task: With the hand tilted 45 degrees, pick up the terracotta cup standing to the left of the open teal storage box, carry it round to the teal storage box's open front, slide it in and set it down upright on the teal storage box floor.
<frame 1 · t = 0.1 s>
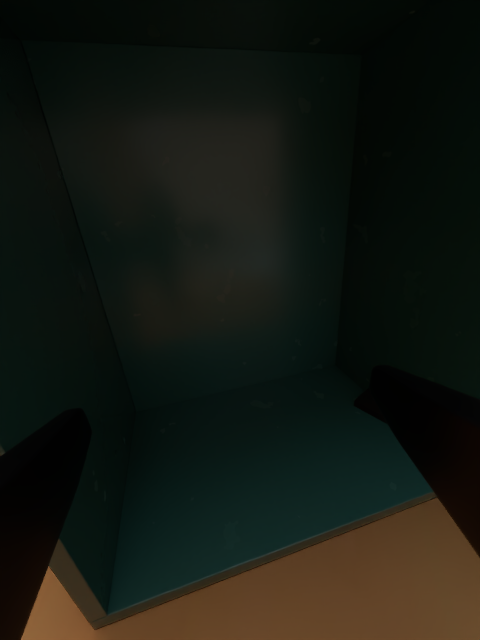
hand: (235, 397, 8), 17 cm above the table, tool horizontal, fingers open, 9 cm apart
teal storage box: (266, 443, 26), on the table
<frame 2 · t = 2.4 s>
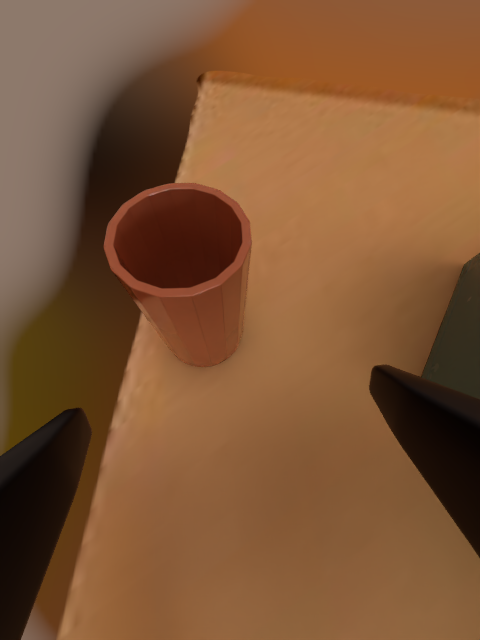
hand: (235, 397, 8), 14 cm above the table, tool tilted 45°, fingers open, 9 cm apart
clay cup: (204, 329, 24), on the table
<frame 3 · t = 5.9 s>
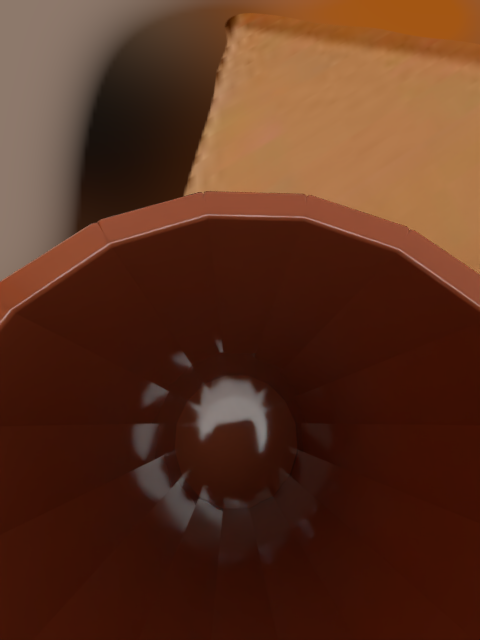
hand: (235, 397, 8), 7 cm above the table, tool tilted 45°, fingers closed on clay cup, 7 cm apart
clay cup: (236, 435, 14), on the table, touching gripper
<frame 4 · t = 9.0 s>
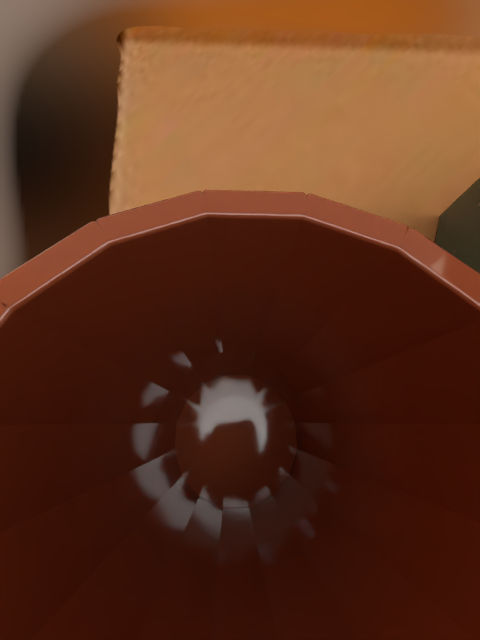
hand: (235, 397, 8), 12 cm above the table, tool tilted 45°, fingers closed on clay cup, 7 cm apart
clay cup: (235, 435, 14), point 5 cm above the table, touching gripper
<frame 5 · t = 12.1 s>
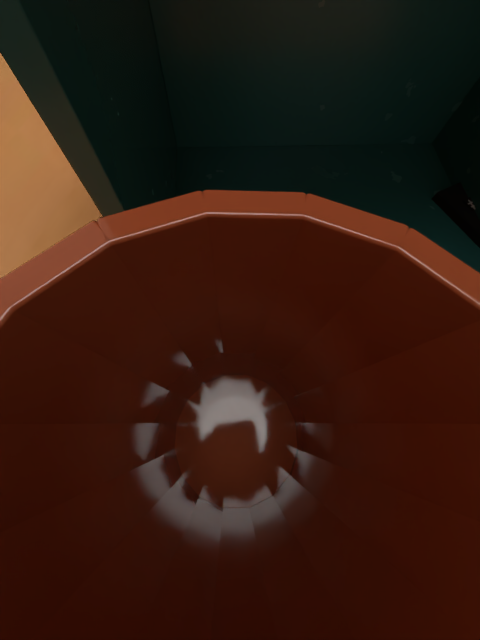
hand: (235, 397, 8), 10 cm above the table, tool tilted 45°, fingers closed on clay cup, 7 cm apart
clay cup: (236, 435, 14), point 4 cm above the table, touching gripper
teal storage box: (318, 215, 24), on the table
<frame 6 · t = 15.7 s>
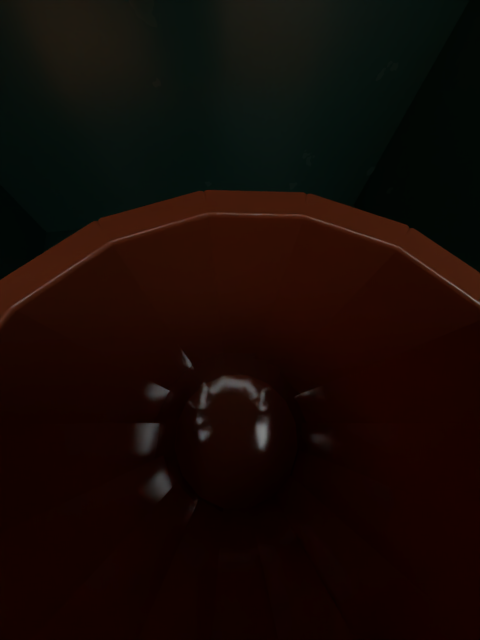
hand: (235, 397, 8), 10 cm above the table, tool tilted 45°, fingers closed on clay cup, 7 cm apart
clay cup: (236, 435, 14), point 3 cm above the table, touching gripper
teal storage box: (219, 309, 20), on the table
when the fingers open (8 cm above the table, at t = 18.6 s): clay cup stays where it is, resting on teal storage box.
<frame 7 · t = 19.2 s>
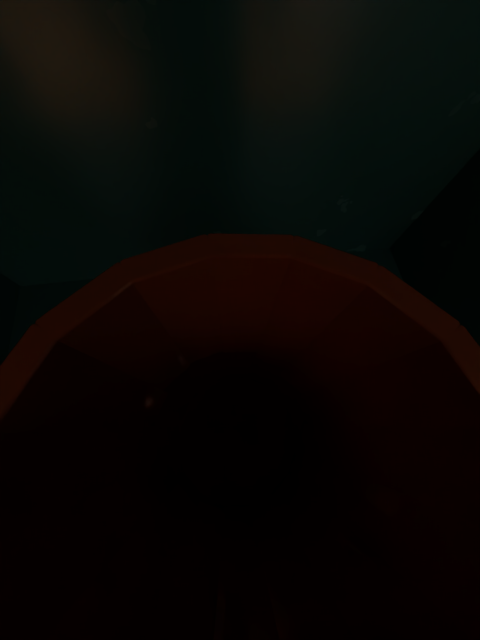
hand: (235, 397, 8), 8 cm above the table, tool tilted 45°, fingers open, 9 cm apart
clay cup: (236, 435, 14), point 1 cm above the table, touching teal storage box
teal storage box: (230, 383, 16), on the table
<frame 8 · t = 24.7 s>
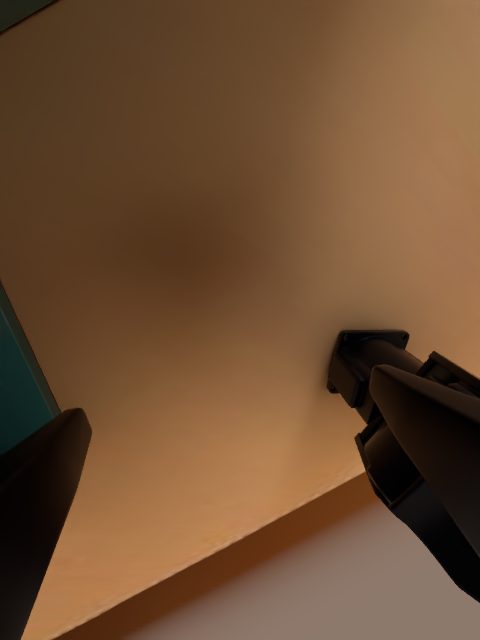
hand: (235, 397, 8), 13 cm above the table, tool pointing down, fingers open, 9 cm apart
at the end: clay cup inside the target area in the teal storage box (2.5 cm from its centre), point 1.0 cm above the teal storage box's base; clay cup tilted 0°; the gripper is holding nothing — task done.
